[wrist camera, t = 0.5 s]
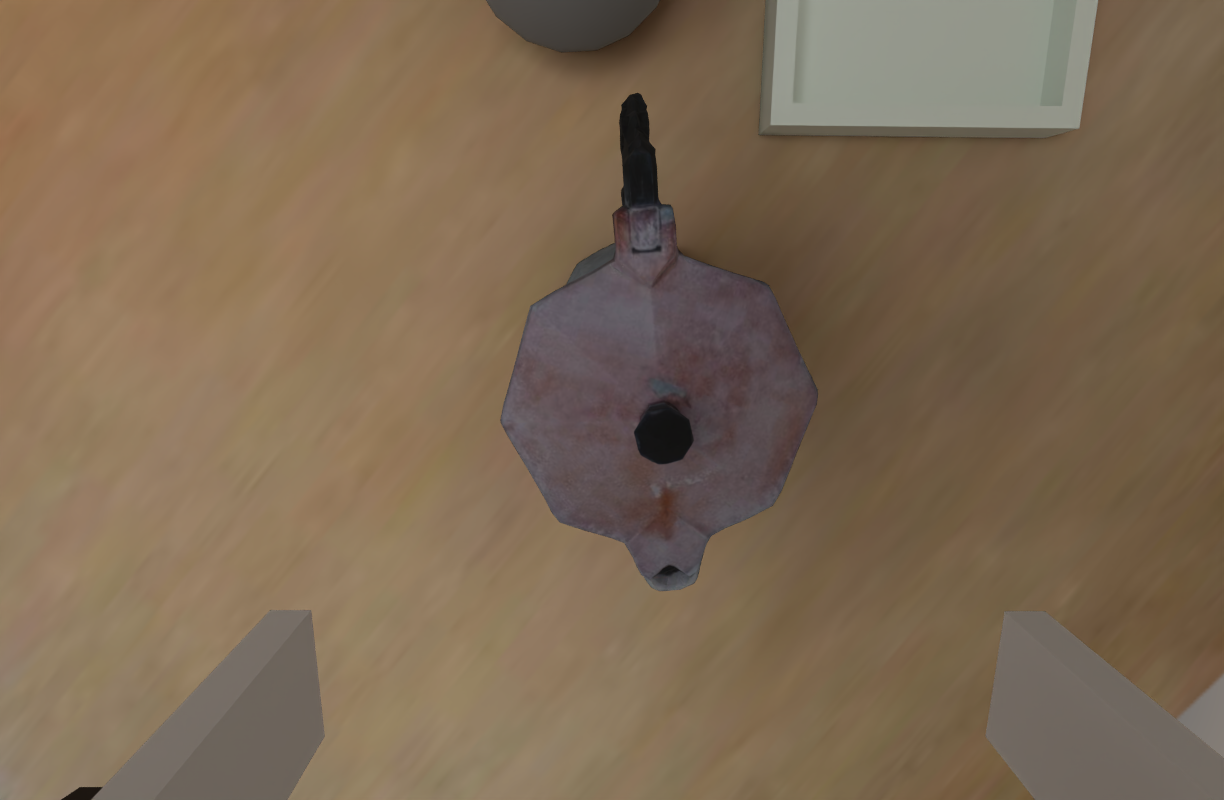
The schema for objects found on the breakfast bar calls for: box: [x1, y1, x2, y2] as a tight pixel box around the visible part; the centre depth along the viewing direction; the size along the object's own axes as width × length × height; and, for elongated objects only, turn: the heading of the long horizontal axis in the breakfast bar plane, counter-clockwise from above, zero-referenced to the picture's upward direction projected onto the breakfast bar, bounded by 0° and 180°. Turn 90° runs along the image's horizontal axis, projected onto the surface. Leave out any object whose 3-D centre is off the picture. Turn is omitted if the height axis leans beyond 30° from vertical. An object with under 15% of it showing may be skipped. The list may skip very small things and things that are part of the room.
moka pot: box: [500, 93, 818, 591], centre depth 26 cm, size 10×15×20 cm, turn 9°
